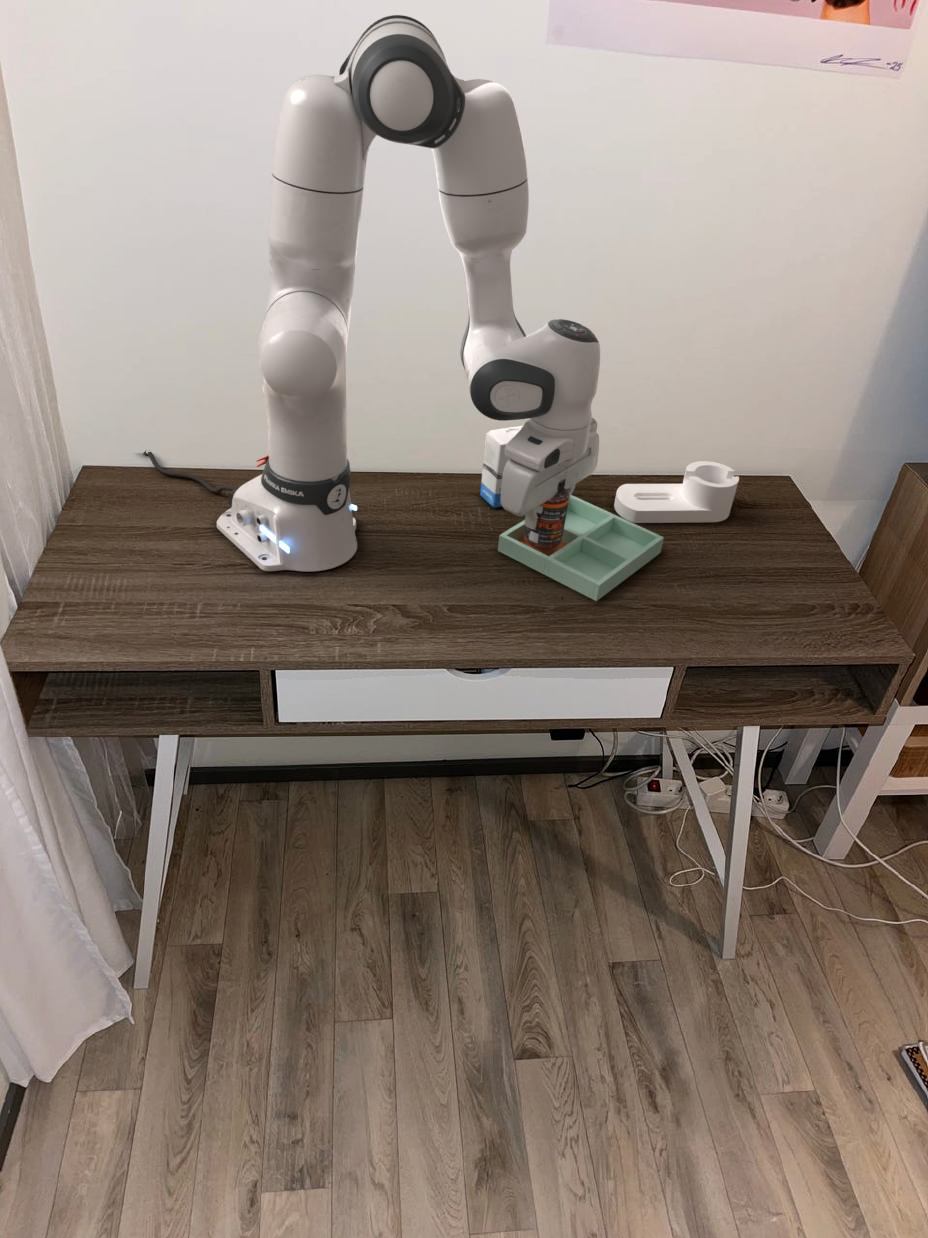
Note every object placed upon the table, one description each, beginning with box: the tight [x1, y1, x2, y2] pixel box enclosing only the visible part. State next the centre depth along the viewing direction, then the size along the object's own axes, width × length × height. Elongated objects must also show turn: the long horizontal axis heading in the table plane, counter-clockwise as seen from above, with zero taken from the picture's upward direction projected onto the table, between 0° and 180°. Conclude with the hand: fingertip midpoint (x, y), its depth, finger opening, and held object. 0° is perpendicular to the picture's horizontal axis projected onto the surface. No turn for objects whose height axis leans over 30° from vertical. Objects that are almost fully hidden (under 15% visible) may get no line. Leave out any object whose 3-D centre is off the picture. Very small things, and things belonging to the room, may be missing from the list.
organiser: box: [497, 494, 665, 602], centre depth 156 cm, size 18×18×3 cm
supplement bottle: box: [524, 479, 569, 549], centre depth 152 cm, size 6×6×11 cm
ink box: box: [479, 425, 523, 509], centre depth 166 cm, size 9×5×12 cm, turn 118°
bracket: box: [613, 460, 740, 524], centre depth 168 cm, size 20×9×7 cm, turn 98°
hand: (545, 517), depth 153 cm, fingers closed on supplement bottle, 6 cm apart
